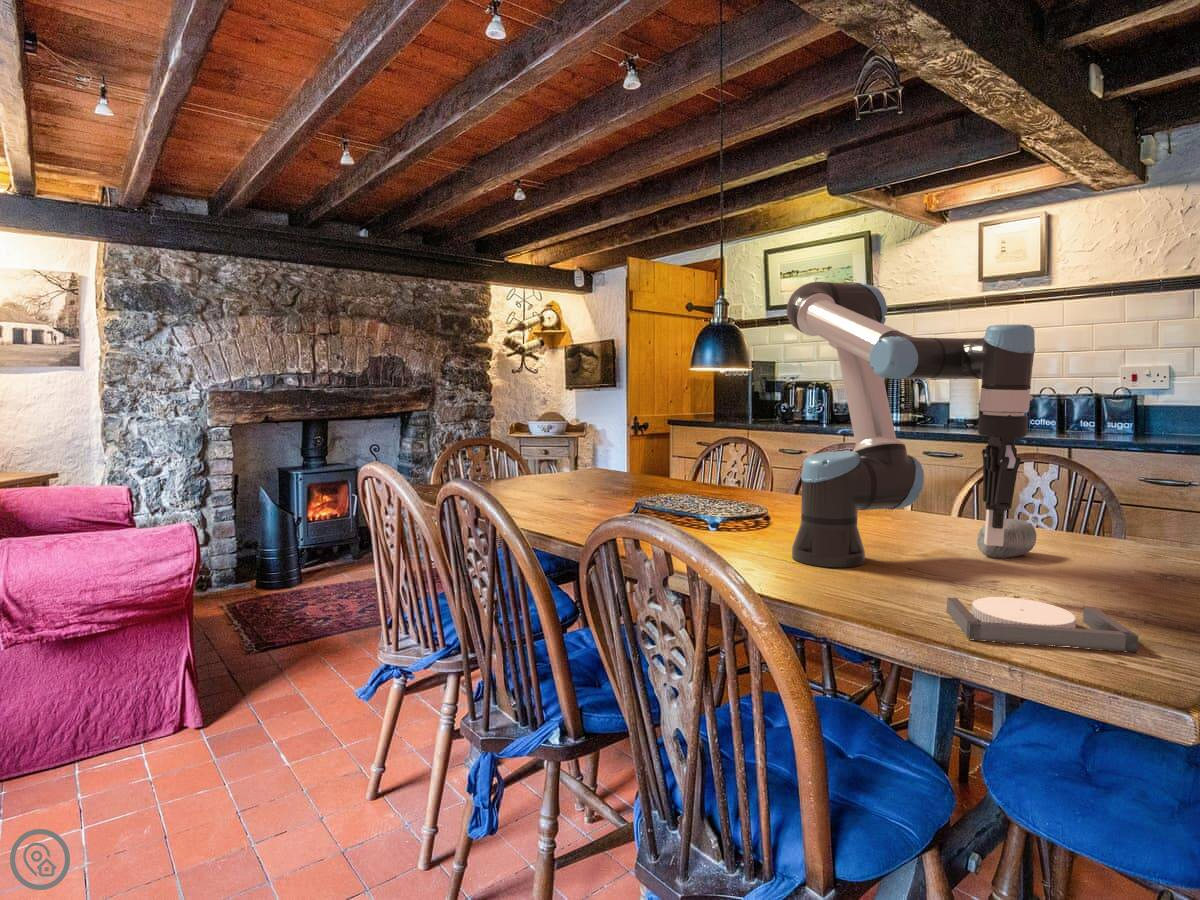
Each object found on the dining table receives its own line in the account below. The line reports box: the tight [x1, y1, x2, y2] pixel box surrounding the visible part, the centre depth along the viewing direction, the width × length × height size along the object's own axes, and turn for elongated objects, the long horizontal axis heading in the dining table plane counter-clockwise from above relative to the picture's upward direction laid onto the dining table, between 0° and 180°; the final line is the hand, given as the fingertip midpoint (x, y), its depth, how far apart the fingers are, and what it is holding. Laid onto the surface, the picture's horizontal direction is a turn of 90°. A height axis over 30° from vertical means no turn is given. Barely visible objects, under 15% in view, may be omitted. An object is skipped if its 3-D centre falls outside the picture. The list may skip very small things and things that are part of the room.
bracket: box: [946, 597, 1139, 653], centre depth 106 cm, size 22×14×2 cm, turn 76°
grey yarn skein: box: [976, 518, 1038, 559], centre depth 155 cm, size 14×10×10 cm
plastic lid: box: [971, 596, 1077, 628], centre depth 110 cm, size 14×14×2 cm
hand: (993, 544), depth 125 cm, fingers closed
